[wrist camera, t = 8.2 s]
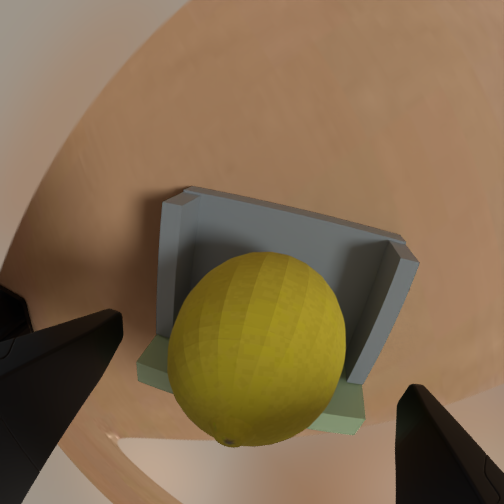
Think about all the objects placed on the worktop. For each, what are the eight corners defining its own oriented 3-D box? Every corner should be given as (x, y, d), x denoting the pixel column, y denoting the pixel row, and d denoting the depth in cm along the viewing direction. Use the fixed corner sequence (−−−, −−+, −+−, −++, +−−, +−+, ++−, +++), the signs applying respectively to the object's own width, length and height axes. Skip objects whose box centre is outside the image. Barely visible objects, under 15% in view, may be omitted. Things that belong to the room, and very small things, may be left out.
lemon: (276, 351, 15) (237, 496, 8) (193, 276, 14) (94, 403, 7) (367, 289, 13) (392, 454, 5) (278, 194, 12) (207, 307, 5)
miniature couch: (178, 321, 17) (137, 380, 12) (192, 185, 14) (134, 212, 9) (348, 363, 16) (354, 435, 11) (400, 234, 13) (439, 285, 8)
